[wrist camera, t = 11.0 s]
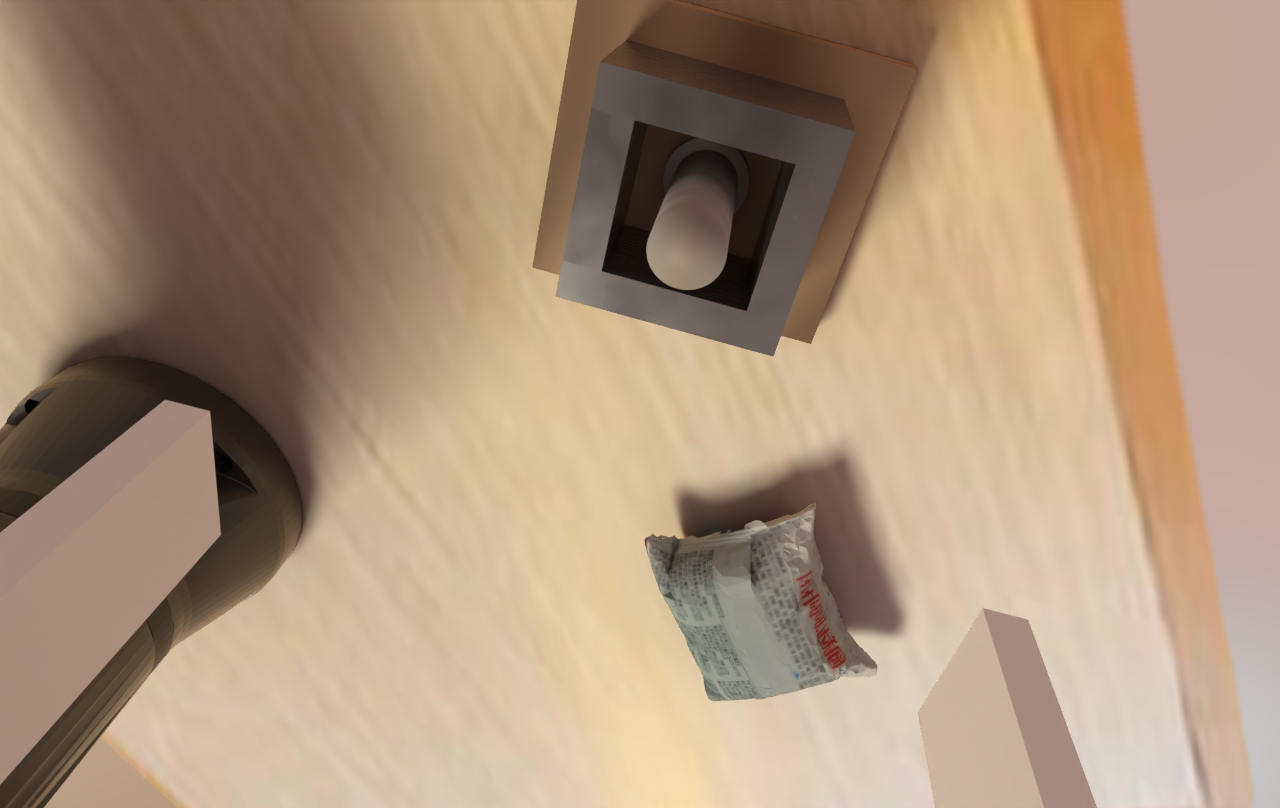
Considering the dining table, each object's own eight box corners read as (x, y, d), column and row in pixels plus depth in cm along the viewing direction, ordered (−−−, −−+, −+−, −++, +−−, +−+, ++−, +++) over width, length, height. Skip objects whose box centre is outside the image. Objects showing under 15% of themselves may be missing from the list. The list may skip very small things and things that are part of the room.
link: (584, 247, 33) (555, 296, 29) (626, 39, 29) (600, 61, 25) (774, 299, 33) (773, 356, 29) (844, 99, 29) (855, 131, 25)
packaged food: (814, 472, 39) (817, 541, 35) (875, 645, 44) (883, 723, 40) (646, 509, 42) (630, 576, 37) (721, 668, 47) (714, 742, 43)
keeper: (539, 257, 35) (471, 355, 27) (588, -25, 29) (518, -2, 21) (810, 331, 35) (818, 451, 27) (912, 63, 29) (962, 119, 21)
